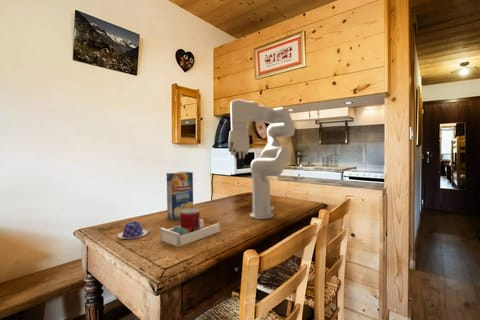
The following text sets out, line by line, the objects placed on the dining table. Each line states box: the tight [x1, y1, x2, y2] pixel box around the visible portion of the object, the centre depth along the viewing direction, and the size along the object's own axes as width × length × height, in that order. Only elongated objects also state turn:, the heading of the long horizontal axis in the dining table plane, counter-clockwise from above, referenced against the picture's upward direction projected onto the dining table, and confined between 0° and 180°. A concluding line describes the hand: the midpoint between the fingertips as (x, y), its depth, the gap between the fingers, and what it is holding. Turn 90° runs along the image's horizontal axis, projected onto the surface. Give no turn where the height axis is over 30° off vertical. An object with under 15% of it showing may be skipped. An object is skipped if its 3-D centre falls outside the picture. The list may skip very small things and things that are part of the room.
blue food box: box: [166, 171, 194, 221], centre depth 131 cm, size 12×8×24 cm, turn 126°
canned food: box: [179, 207, 201, 233], centre depth 101 cm, size 8×8×11 cm
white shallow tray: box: [160, 218, 221, 248], centre depth 102 cm, size 22×12×5 cm, turn 140°
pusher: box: [173, 225, 189, 236], centre depth 97 cm, size 2×9×4 cm, turn 50°
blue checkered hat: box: [116, 221, 149, 240], centre depth 104 cm, size 12×12×5 cm
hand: (240, 167), depth 113 cm, fingers closed
